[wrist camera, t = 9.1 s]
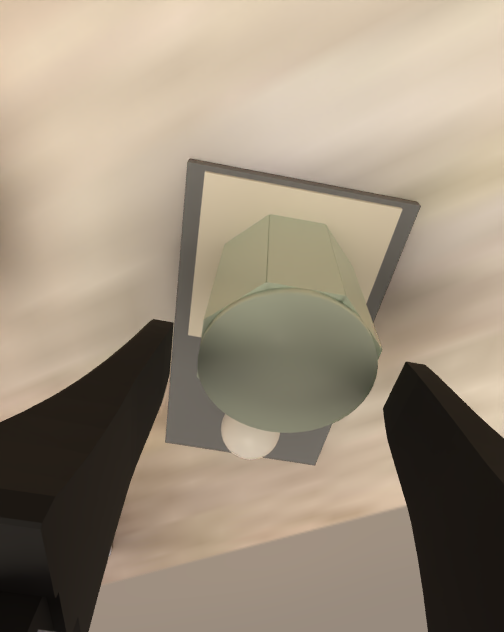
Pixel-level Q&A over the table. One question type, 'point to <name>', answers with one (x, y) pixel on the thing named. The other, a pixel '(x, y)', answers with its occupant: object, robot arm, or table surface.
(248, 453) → the marble
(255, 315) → the sage cup
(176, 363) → the mat
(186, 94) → the table surface
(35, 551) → the robot arm
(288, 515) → the table surface
